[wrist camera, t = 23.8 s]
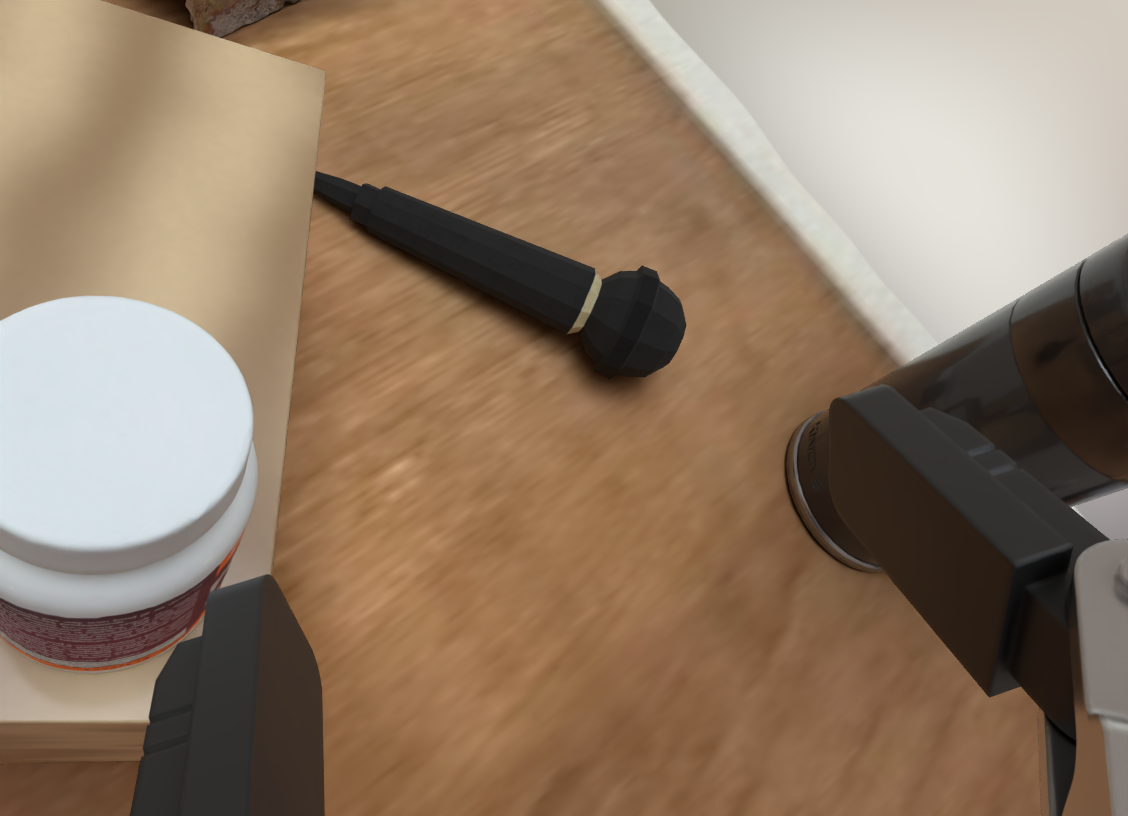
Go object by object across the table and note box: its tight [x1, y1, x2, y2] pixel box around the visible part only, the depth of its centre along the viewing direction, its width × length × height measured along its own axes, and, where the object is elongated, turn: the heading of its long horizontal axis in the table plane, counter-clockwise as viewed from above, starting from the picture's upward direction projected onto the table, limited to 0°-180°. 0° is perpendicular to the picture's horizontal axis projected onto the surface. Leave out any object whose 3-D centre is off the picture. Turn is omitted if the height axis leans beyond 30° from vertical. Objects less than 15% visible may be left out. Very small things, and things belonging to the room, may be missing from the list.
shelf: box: [0, 0, 326, 763], centre depth 25 cm, size 12×20×14 cm, turn 1°
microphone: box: [313, 171, 686, 379], centre depth 40 cm, size 6×6×20 cm
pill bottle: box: [0, 296, 258, 673], centre depth 15 cm, size 5×5×8 cm
